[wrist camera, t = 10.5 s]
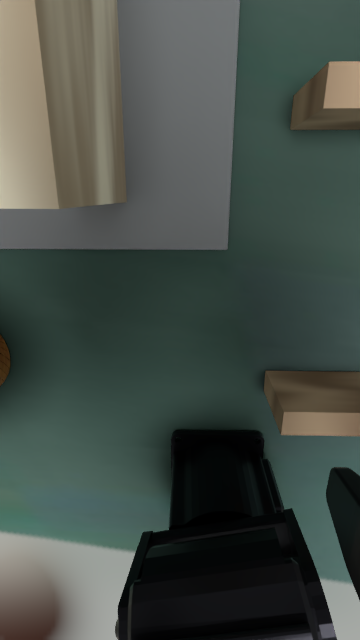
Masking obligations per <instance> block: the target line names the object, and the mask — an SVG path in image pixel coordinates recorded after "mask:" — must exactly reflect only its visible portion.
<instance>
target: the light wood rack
mask: <svg viewBox="0 0 360 640" xmlns="http://www.w3.org/2000/svg"><path fill="white" fill-rule="evenodd" d="M290 130H360V62H329V63H327V64H326V65H325V66H324V67H323V68H322V69H321V70H320V71H319V72H318V73H317V74H316V75H315V76H314V77H313V78H312V79H311V80H310V81H309V82H308V83H306V84H305V85H304V86H303V87H302V88H301V89H300V90H299V91H298V92H297V93H296V94H295V95H294V97H293V106H292V116H291V126H290ZM264 393H265V395H266V398H267V400H268V403H269V406H270V408H271V411H272V413H273V416H274V418H275V421H276V424H277V426H278V429H279V431H280V434H281V435H313V436H360V372H332V371H266V372H265V382H264Z"/></svg>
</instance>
